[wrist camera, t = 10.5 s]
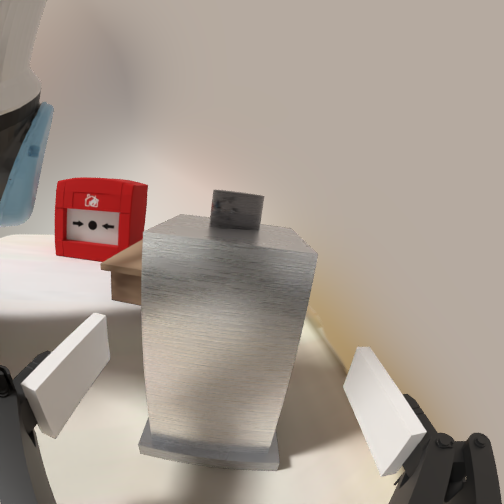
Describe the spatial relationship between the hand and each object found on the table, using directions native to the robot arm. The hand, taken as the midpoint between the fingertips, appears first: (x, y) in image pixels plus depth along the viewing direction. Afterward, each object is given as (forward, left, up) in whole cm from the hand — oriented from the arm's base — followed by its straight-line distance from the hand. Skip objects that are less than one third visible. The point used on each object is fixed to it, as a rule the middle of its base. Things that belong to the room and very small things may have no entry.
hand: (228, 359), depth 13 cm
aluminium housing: (-1, +2, -7) cm, 8 cm away
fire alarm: (-28, +38, -8) cm, 48 cm away
